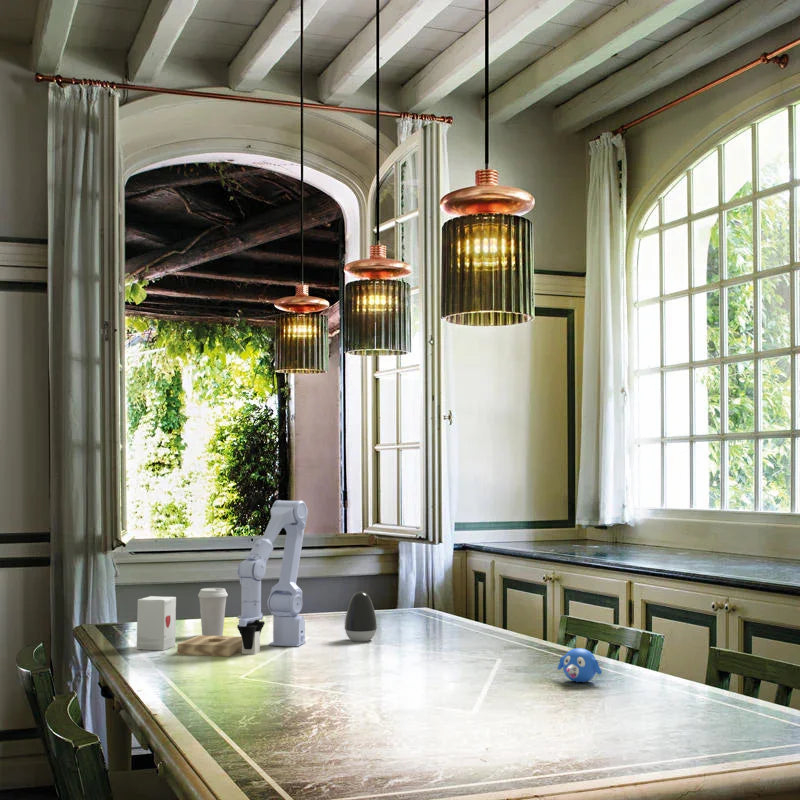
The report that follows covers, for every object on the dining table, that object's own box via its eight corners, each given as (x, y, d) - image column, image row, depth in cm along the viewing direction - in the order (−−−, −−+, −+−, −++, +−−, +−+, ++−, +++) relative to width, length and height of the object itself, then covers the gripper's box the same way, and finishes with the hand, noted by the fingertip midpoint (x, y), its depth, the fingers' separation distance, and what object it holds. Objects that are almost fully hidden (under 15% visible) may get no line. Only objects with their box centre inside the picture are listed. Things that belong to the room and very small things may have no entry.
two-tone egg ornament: (378, 638, 331) (378, 589, 332) (374, 643, 320) (374, 593, 321) (347, 637, 332) (347, 589, 333) (342, 642, 321) (342, 593, 322)
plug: (259, 651, 306) (259, 626, 306) (254, 654, 302) (255, 628, 303) (246, 651, 307) (247, 625, 307) (241, 653, 303) (242, 627, 303)
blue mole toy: (544, 684, 259) (544, 650, 259) (565, 676, 268) (564, 643, 269) (589, 690, 252) (589, 655, 252) (608, 682, 262) (608, 648, 262)
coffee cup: (224, 638, 330) (224, 591, 331) (194, 638, 330) (195, 591, 331) (229, 633, 339) (230, 587, 340) (200, 633, 340) (201, 587, 341)
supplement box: (163, 651, 308) (164, 600, 309) (135, 650, 310) (136, 599, 311) (176, 645, 317) (177, 596, 318) (149, 644, 318) (149, 595, 319)
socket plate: (249, 647, 314) (249, 637, 314) (229, 656, 298) (229, 645, 299) (199, 645, 318) (199, 635, 318) (177, 654, 302) (177, 643, 302)
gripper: (247, 597, 313) (246, 643, 312) (229, 603, 299) (228, 651, 298) (269, 598, 312) (269, 644, 311) (252, 604, 298) (251, 652, 297)
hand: (250, 647), depth 305 cm, fingers closed on plug, 4 cm apart
